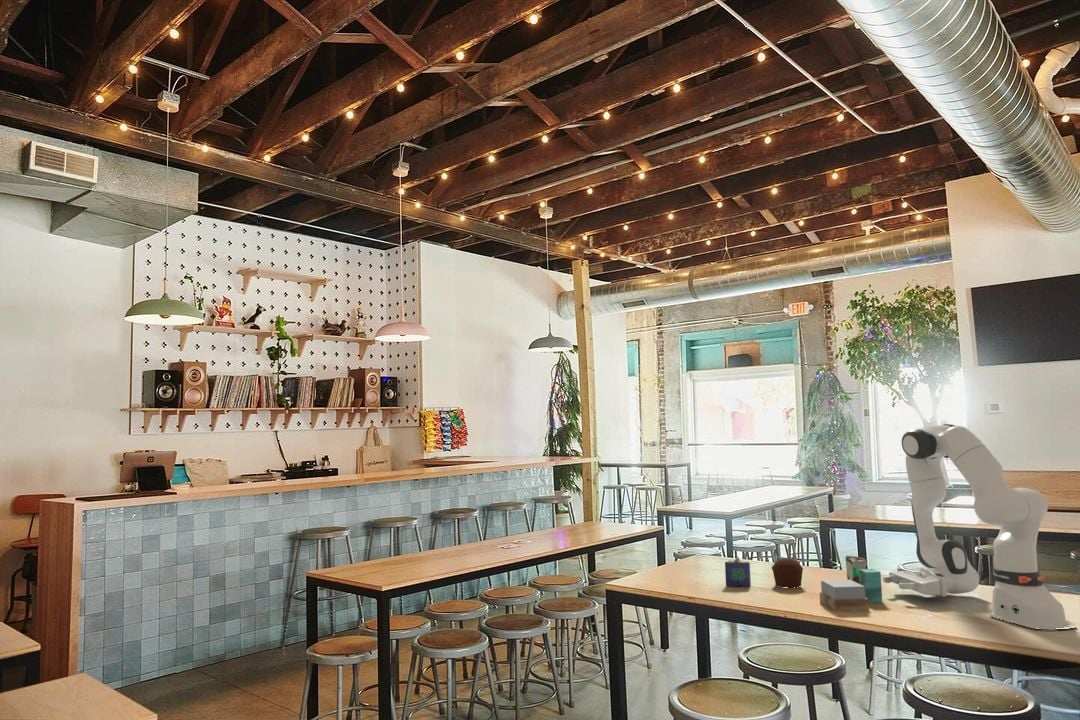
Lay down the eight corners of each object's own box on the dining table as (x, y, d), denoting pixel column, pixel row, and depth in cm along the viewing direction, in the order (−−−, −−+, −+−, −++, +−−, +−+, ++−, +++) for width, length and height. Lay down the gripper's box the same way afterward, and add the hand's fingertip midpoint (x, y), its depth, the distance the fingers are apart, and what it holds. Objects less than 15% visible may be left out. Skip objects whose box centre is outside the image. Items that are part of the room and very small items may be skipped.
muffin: (774, 581, 273) (773, 555, 274) (805, 583, 268) (804, 556, 269) (770, 588, 263) (769, 560, 264) (802, 590, 258) (800, 562, 259)
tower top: (865, 599, 231) (864, 586, 231) (834, 599, 231) (834, 587, 231) (850, 591, 241) (850, 579, 241) (821, 592, 240) (821, 580, 241)
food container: (872, 590, 256) (870, 562, 257) (854, 590, 258) (852, 561, 258) (864, 582, 268) (862, 555, 269) (846, 582, 270) (845, 555, 270)
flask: (749, 585, 268) (748, 556, 269) (751, 587, 265) (750, 557, 266) (725, 585, 268) (723, 556, 269) (726, 587, 266) (725, 558, 266)
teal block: (882, 602, 240) (880, 571, 241) (868, 602, 240) (866, 572, 241) (874, 598, 245) (872, 568, 246) (860, 599, 245) (858, 569, 246)
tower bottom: (868, 611, 230) (868, 599, 231) (836, 613, 229) (835, 600, 230) (851, 603, 241) (850, 591, 242) (820, 604, 240) (819, 592, 241)
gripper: (911, 566, 256) (874, 567, 254) (948, 578, 235) (908, 579, 234) (912, 584, 255) (875, 585, 254) (950, 597, 235) (910, 599, 233)
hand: (891, 582), depth 244 cm, fingers open, 8 cm apart
